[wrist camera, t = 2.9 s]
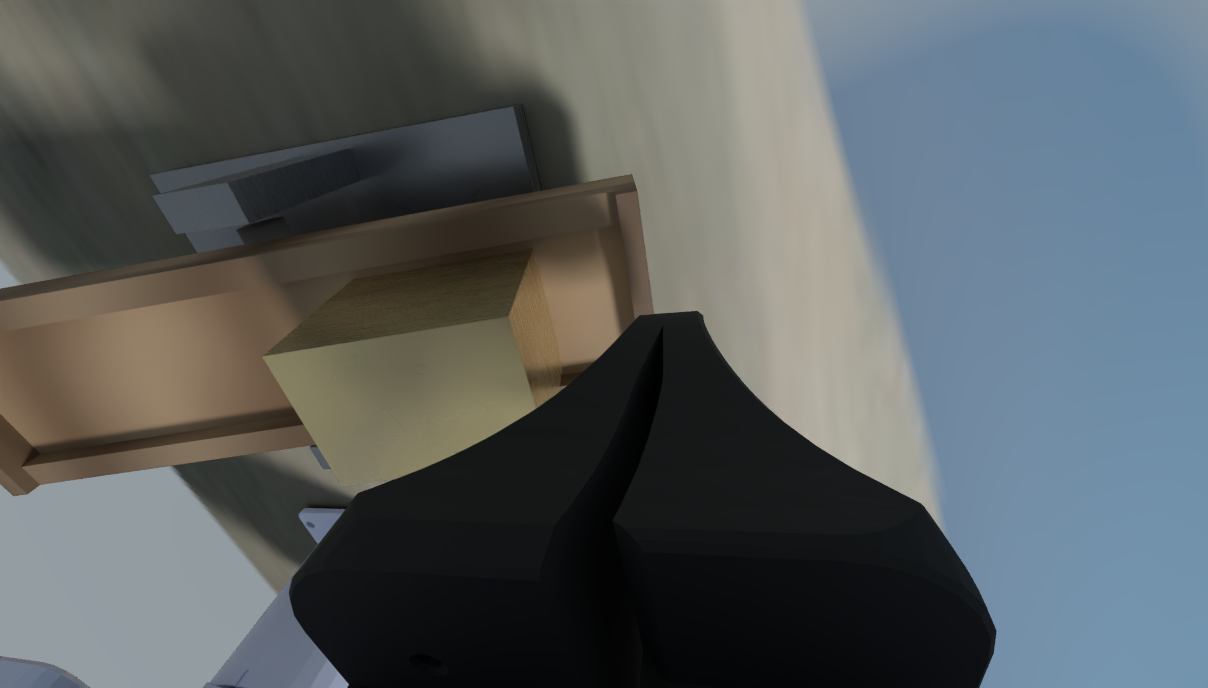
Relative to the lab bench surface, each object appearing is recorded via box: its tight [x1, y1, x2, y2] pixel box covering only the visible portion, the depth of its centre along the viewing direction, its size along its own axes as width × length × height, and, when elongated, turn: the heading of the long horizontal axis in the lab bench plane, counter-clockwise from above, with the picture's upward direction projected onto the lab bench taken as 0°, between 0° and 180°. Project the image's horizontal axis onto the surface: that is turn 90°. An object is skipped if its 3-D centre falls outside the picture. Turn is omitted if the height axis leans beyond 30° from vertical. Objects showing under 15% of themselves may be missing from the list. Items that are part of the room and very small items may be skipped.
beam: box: [0, 174, 654, 496], centre depth 14 cm, size 21×7×3 cm, turn 100°
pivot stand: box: [149, 104, 542, 469], centre depth 16 cm, size 10×14×5 cm
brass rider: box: [262, 248, 563, 486], centre depth 12 cm, size 4×5×4 cm
